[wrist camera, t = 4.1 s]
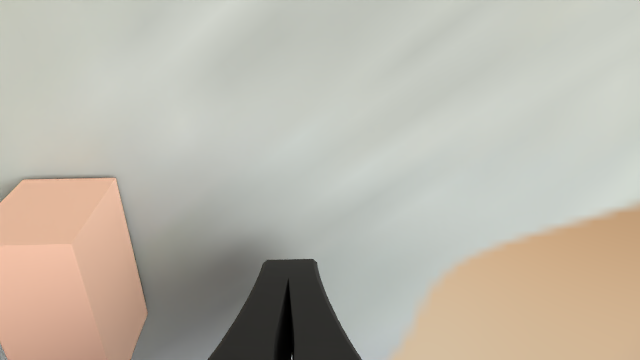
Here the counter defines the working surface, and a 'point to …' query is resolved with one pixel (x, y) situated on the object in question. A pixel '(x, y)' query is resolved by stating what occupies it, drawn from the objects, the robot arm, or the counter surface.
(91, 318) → the peach and white mallet
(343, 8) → the counter surface
